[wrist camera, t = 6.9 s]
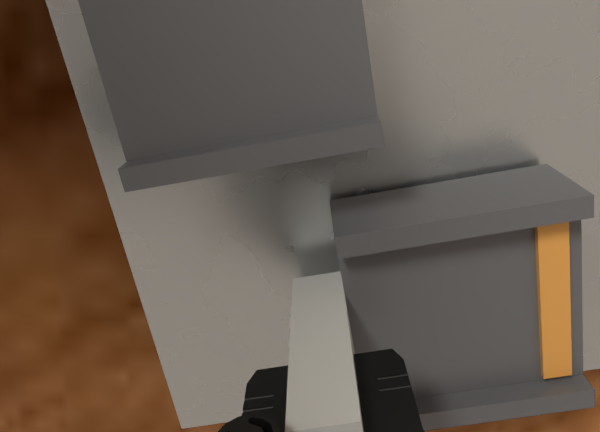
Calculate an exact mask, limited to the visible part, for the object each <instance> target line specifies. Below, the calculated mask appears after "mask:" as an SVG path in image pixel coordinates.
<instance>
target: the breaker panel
mask: <svg viewBox="0 0 600 432" xmlns="http://www.w3.org/2000/svg"><path fill="white" fill-rule="evenodd" d="M45 1H46V4H47V7H48V10H49V14H50V17H51V20H52V23H53V26H54V29H55V32H56V36H57V39H58V42H59V45H60V48H61V51H62V54H63V58H64V61H65V64H66V67H67V70H68V73H69V76H70V80H71V83H72V86H73V89H74V92H75V95H76V98H77V101H78V105H79V108H80V111H81V114H82V117H83V120H84V123H85V127H86V130H87V133H88V136H89V139H90V142H91V145H92V149H93V152H94V155H95V158H96V161H97V164H98V167H99V171H100V174H101V177H102V180H103V183H104V186H105V189H106V193H107V196H108V199H109V202H110V205H111V208H112V211H113V215H114V218H115V221H116V224H117V227H118V230H119V233H120V237H121V240H122V243H123V246H124V249H125V252H126V255H127V259H128V262H129V265H130V268H131V271H132V274H133V277H134V281H135V284H136V287H137V290H138V293H139V296H140V299H141V303H142V306H143V309H144V312H145V315H146V318H147V321H148V325H149V328H150V331H151V334H152V337H153V340H154V343H155V347H156V350H157V353H158V356H159V359H160V362H161V365H162V369H163V372H164V375H165V378H166V381H167V384H168V387H169V391H170V394H171V397H172V400H173V403H174V406H175V409H176V413H177V416H178V419H179V422H180V425H181V428H182V429H183V428H190V427H197V426H204V425H211V424H218V423H225V422H229V421H231V420H233V419H235V418H236V417H239V416H242V413H243V404H244V401H245V391H246V385H247V383H248V381H249V380H250V378H251V377H252V376H253V374H254V373H255V371H256V370H259V369H266V368H273V367H280V366H287V365H288V360H289V341H290V321H291V302H292V282H293V279H294V278H301V277H307V276H313V275H320V274H326V273H332V272H338V271H340V265H339V260H338V257H337V252H336V246H335V240H334V233H333V225H332V217H331V208H330V201H331V200H336V199H342V198H348V197H354V196H360V195H366V194H372V193H377V192H383V191H389V190H395V189H401V188H407V187H413V186H418V185H424V184H430V183H436V182H442V181H448V180H454V179H460V178H465V177H471V176H477V175H483V174H489V173H495V172H501V171H506V170H512V169H518V168H524V167H530V166H536V165H542V164H548V165H549V166H551V167H552V168H554V169H555V170H557V171H558V172H560V173H562V174H563V175H565V176H566V177H568V178H569V179H571V180H572V181H574V182H575V183H577V184H578V185H580V186H581V187H583V188H584V189H586V190H587V191H589V192H590V193H592V194H594V218H589V219H583V220H581V228H582V310H583V371H587V370H593V369H600V0H362V5H363V12H364V20H365V27H366V34H367V41H368V49H369V56H370V63H371V71H372V78H373V85H374V93H375V100H376V107H377V115H378V117H379V119H380V121H381V123H382V131H383V138H384V145H385V147H379V148H374V149H368V150H362V151H357V152H351V153H345V154H340V155H334V156H328V157H323V158H317V159H311V160H306V161H300V162H294V163H289V164H283V165H277V166H272V167H266V168H260V169H255V170H249V171H243V172H238V173H232V174H226V175H221V176H215V177H209V178H204V179H198V180H192V181H187V182H181V183H175V184H170V185H164V186H158V187H153V188H147V189H141V190H136V191H130V192H124V188H123V185H122V182H121V179H120V175H119V172H118V168H119V167H121V166H122V165H123V164H124V163H125V162H126V159H125V156H124V152H123V149H122V146H121V142H120V139H119V136H118V132H117V129H116V126H115V122H114V119H113V116H112V112H111V109H110V106H109V102H108V99H107V96H106V92H105V89H104V86H103V82H102V79H101V76H100V72H99V69H98V66H97V62H96V59H95V56H94V52H93V49H92V46H91V42H90V39H89V36H88V32H87V29H86V26H85V22H84V19H83V16H82V12H81V9H80V6H79V2H78V0H45Z"/></svg>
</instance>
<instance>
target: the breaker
mask: <svg viewBox="0 0 600 432" xmlns="http://www.w3.org/2000/svg"><path fill="white" fill-rule="evenodd" d="M78 2H79V6H80V9H81V12H82V16H83V19H84V22H85V26H86V29H87V32H88V36H89V39H90V42H91V46H92V49H93V52H94V56H95V59H96V62H97V66H98V69H99V72H100V76H101V79H102V82H103V86H104V89H105V92H106V96H107V99H108V102H109V106H110V109H111V112H112V116H113V119H114V122H115V126H116V129H117V132H118V136H119V139H120V142H121V146H122V149H123V152H124V156H125V159H126V162H125V163H124V164H123V165H122V166H121V167H119V168H118V172H119V175H120V179H121V182H122V185H123V188H124V192H130V191H136V190H141V189H147V188H153V187H158V186H164V185H170V184H175V183H181V182H187V181H192V180H198V179H204V178H209V177H215V176H221V175H226V174H232V173H238V172H243V171H249V170H255V169H260V168H266V167H272V166H277V165H283V164H289V163H294V162H300V161H306V160H311V159H317V158H323V157H328V156H334V155H340V154H345V153H351V152H357V151H362V150H368V149H374V148H379V147H385V145H384V138H383V131H382V123H381V121H380V119H379V117H378V115H377V107H376V100H375V93H374V85H373V78H372V71H371V63H370V56H369V49H368V41H367V34H366V27H365V20H364V12H363V5H362V0H78Z"/></svg>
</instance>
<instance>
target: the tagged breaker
mask: <svg viewBox="0 0 600 432" xmlns="http://www.w3.org/2000/svg"><path fill="white" fill-rule="evenodd" d="M330 208H331V217H332V225H333V233H334V240H335V246H336V252H337V257H338V260H339V265H340V271H341V277H342V282H343V288H344V294H345V299H346V305H347V311H348V316H349V322H350V328H351V333H352V339H353V345H354V350H355V354H359V353H365V352H372V351H379V350H386V349H393V350H394V351H395V352H397V353H398V354H399V355H400V356H401V357H402V358H403V359H404V362H405V366H406V369H407V373H408V376H409V380H410V384H411V387H412V391H413V394H414V398H415V402H416V405H417V409H418V413H419V416H420V420H421V423H422V427H423V430H424V431H428V430H435V429H442V428H450V427H457V426H464V425H471V424H478V423H486V422H493V421H500V420H507V419H514V418H521V417H529V416H536V415H543V414H550V413H557V412H565V411H572V410H579V409H586V408H593V407H595V389H594V388H593V387H592V385H591V384H590V383H589V381H588V380H587V379H586V377H585V376H584V375H583V310H582V228H581V220H583V219H589V218H594V194H592V193H590V192H589V191H587V190H586V189H584V188H583V187H581V186H580V185H578V184H577V183H575V182H574V181H572V180H571V179H569V178H568V177H566V176H565V175H563V174H562V173H560V172H558V171H557V170H555V169H554V168H552V167H551V166H549V165H548V164H542V165H536V166H530V167H524V168H518V169H512V170H506V171H501V172H495V173H489V174H483V175H477V176H471V177H465V178H460V179H454V180H448V181H442V182H436V183H430V184H424V185H418V186H413V187H407V188H401V189H395V190H389V191H383V192H377V193H372V194H366V195H360V196H354V197H348V198H342V199H336V200H331V201H330Z"/></svg>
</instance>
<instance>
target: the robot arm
mask: <svg viewBox="0 0 600 432" xmlns="http://www.w3.org/2000/svg"><path fill="white" fill-rule="evenodd" d="M218 432H424V430H423V427H422V423H421V420H420V416H419V413H418V409H417V405H416V402H415V398H414V394H413V391H412V387H411V384H410V380H409V376H408V373H407V369H406V366H405V362H404V359H403V358H402V357H401V356H400V355H399V354H398V353H397V352H395V351H394V350H393V349H386V350H379V351H372V352H365V353H359V354H355V350H354V345H353V339H352V333H351V328H350V322H349V316H348V311H347V305H346V299H345V294H344V288H343V282H342V277H341V271H338V272H332V273H326V274H320V275H313V276H307V277H301V278H294V279H293V282H292V302H291V321H290V341H289V360H288V365H287V366H280V367H273V368H266V369H259V370H256V371H255V373H254V374H253V376H252V377H251V378H250V380H249V381H248V383H247V385H246V391H245V401H244V404H243V413H242V416H239V417H236V418H235V419H233V420H231V421H229V422H228V423H226V424H225V425H224V426H223V427H222V428H221V429H220V430H219V431H218Z"/></svg>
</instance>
